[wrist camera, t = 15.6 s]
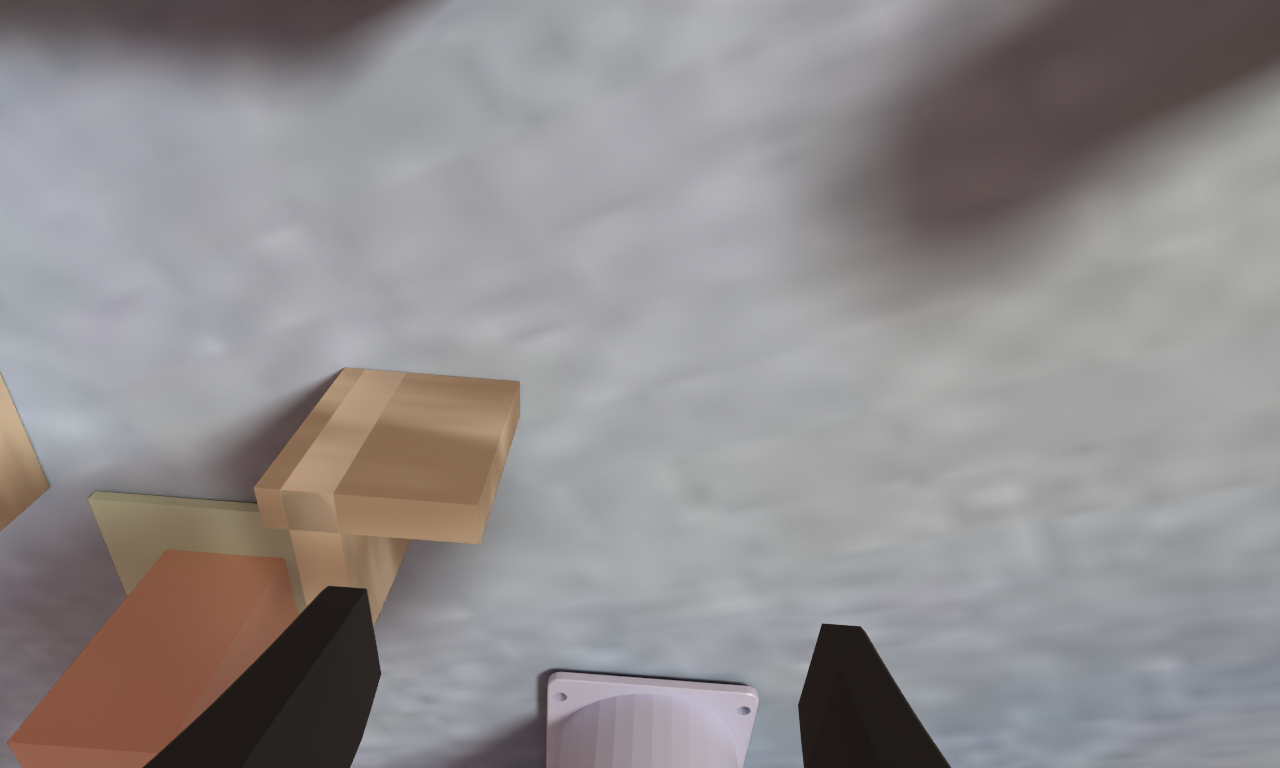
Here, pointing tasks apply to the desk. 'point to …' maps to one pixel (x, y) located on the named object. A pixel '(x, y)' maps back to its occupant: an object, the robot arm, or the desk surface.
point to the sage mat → (185, 533)
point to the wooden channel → (356, 473)
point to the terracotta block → (159, 661)
